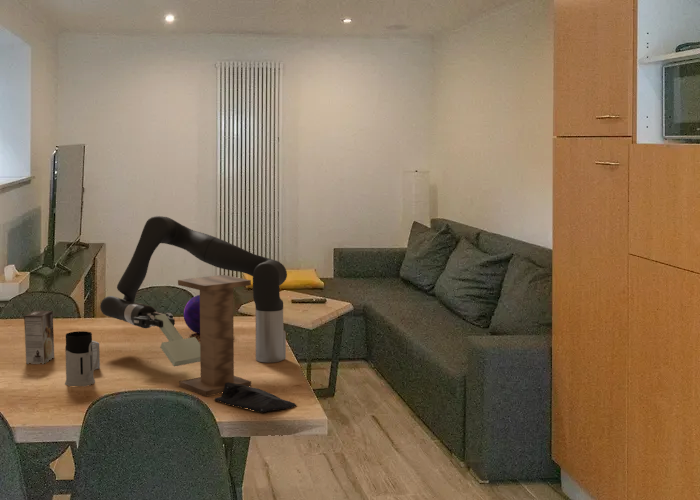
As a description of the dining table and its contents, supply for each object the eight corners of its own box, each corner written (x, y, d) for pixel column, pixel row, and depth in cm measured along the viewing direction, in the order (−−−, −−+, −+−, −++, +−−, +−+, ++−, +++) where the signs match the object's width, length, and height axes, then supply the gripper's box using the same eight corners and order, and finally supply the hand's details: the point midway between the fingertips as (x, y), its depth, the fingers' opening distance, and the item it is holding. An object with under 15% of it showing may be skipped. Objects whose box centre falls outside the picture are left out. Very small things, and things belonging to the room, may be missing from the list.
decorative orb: (210, 327, 344) (210, 290, 342) (231, 334, 332) (231, 295, 331) (176, 332, 334) (176, 294, 332) (196, 339, 323) (196, 299, 321)
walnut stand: (223, 376, 272) (223, 274, 269) (251, 386, 262) (250, 280, 258) (179, 386, 262) (177, 279, 258) (205, 396, 251) (204, 285, 248)
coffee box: (36, 357, 295) (34, 310, 293) (54, 357, 294) (53, 310, 292) (25, 364, 285) (23, 315, 284) (44, 364, 285) (43, 315, 283)
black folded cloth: (256, 419, 233) (256, 401, 232) (209, 401, 249) (209, 384, 248) (301, 408, 243) (301, 391, 243) (253, 391, 259) (253, 375, 259)
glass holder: (84, 377, 270) (82, 329, 268) (112, 385, 261) (110, 336, 260) (58, 383, 264) (57, 334, 262) (86, 392, 255) (85, 341, 253)
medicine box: (94, 366, 284) (93, 340, 283) (100, 369, 280) (99, 342, 279) (70, 370, 279) (69, 343, 278) (76, 373, 275) (75, 346, 274)
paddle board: (174, 317, 287) (176, 312, 286) (207, 360, 275) (209, 355, 274) (142, 322, 279) (143, 317, 278) (174, 366, 267) (175, 361, 266)
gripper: (120, 306, 286) (148, 314, 274) (158, 301, 296) (186, 309, 283) (121, 329, 287) (148, 338, 275) (159, 323, 297) (187, 331, 284)
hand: (167, 323), depth 279 cm, fingers closed on paddle board, 3 cm apart
